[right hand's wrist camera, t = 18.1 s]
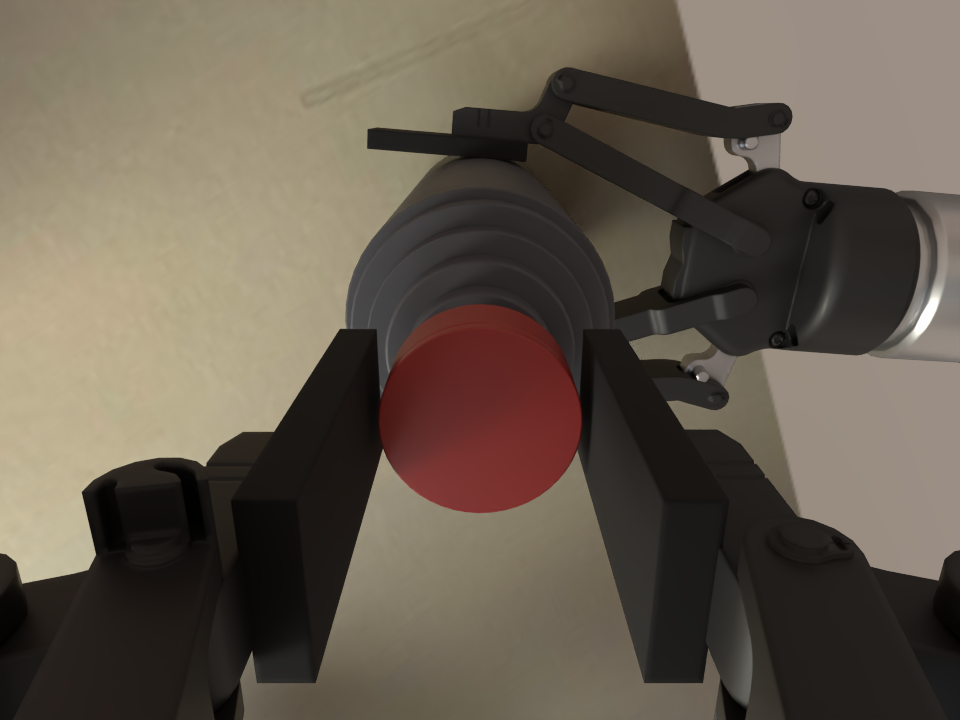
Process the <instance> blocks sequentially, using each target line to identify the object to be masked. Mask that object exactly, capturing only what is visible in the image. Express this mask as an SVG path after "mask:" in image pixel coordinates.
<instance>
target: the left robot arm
mask: <svg viewBox="0 0 960 720" xmlns="http://www.w3.org/2000/svg"><path fill="white" fill-rule="evenodd" d="M572 104H574V105H578V106H582V107H586V108H590V109H595V110H599V111H603V112H607V113H611V114H615V115H619V116H623V117H627V118H631V119H635V120H640V121H644V122H648V123H652V124H656V125H660V126H664V127H668V128H672V129H676V130H681V131H685V132H689V133H693V134H697V135H703V136H709V137H718V138H724V147H725V149H726V151H727V152H728V153H730V154H732V155H736V156H741V157H743V158H744V159H745V160H746V161H747V163H748V167H749V170H747V171H745V172H744V173H742V174H740V175H739V176H737V177H735V178H733V179H732V180H730V181H728V182H726V183H725V184H723V185H721V186H720V187H718V188H716V189H714V190H713V191H711V192H709V193H708V194H706V195H704V196H702V195H700V194H698V193H696V192H694V191H692V190H690V189H688V188H686V187H684V186H682V185H680V184H678V183H676V182H675V181H673V180H671V179H669V178H667V177H665V176H663V175H662V174H660V173H658V172H656V171H654V170H652V169H650V168H649V167H647V166H645V165H643V164H641V163H639V162H637V161H636V160H634V159H632V158H630V157H628V156H626V155H624V154H623V153H621V152H619V151H617V150H615V149H613V148H611V147H610V146H608V145H606V144H604V143H602V142H600V141H598V140H597V139H595V138H593V137H591V136H589V135H587V134H585V133H584V132H582V131H580V130H578V129H576V128H574V127H572V126H571V125H569V124H567V123H565V122H564V121H565V119H566V117H567V115H568V113H569V110H570V108H571V106H572ZM791 121H792V111H791V109H790V108H789V106H787V105H785V104H784V103H756V104H748V105H740V106H733V107H727V106H723V105H719V104H715V103H711V102H707V101H703V100H699V99H695V98H691V97H687V96H683V95H679V94H675V93H671V92H667V91H663V90H659V89H655V88H651V87H647V86H643V85H639V84H635V83H631V82H627V81H623V80H619V79H615V78H611V77H607V76H603V75H599V74H595V73H591V72H586V71H582V70H578V69H574V68H563V69H560V70H558V71H556V72H554V73H553V74H552V75H551V76H550V77H549V79H548V81H547V84H546V87H545V89H544V91H543V93H542V95H541V98H540V100H539V101H538V103H537V105H536V106H535V107H534V108H532V109H531V110H529V111H525V112H517V111H506V110H494V109H482V108H471V107H465V108H461V109H458V110H455V111H453V123H452V134H447V133H435V132H423V131H411V130H400V129H388V128H372V129H368V139H367V149H378V150H390V151H402V152H414V153H426V154H438V155H449V156H461V157H473V158H485V159H497V160H509V161H521V162H526V156H527V146H528V143H530V144H540V145H542V146H544V147H546V148H548V149H549V150H551V151H553V152H555V153H557V154H559V155H561V156H563V157H565V158H566V159H568V160H570V161H572V162H574V163H576V164H578V165H580V166H582V167H583V168H585V169H587V170H589V171H591V172H593V173H595V174H597V175H599V176H600V177H602V178H604V179H606V180H608V181H610V182H612V183H614V184H616V185H617V186H619V187H621V188H623V189H625V190H627V191H629V192H631V193H633V194H634V195H636V196H638V197H640V198H642V199H644V200H646V201H648V202H650V203H651V204H653V205H655V206H657V207H659V208H661V209H663V210H665V211H667V212H668V213H670V214H672V215H674V216H676V217H678V218H677V220H672V226H671V231H670V247H671V255H670V257H669V260H668V262H667V264H666V266H665V268H664V271H663V277H662V282H661V286H658V287H654V288H651V289H647V290H645V291H643V292H641V293H640V294H639V295H637V296H635V297H632V298H628V299H625V300H621V301H618V302H615V303H614V308H615V324H614V329H620V330H621V331H622V333H623V334H624V336H625V338H626V339H627V341H628V342H629V341H633V340H636V339H640V338H643V337H647V336H650V335H654V334H660V335H667V334H672V333H675V332H679V331H682V330H686V329H689V328H693V327H694V328H695V329H696V330H697V331H698V332H700V333H701V334H702V335H703V336H704V337H705V338H706V339H707V340H709V341H710V342H711V343H712V345H711V346H710V348H709V349H708V350H707V351H705V352H703V353H691V354H687V355H685V356H684V357H683V359H682V361H681V362H680V361H676V360H668V359H651V360H640V361H641V363H642V364H643V366H644V367H645V369H646V370H647V372H648V374H649V375H650V377H651V378H652V380H653V381H654V383H655V385H656V386H657V388H658V389H659V391H660V392H661V394H662V396H663V397H664V399H665V400H666V401H676V400H678V401H682V402H686V403H689V404H693V405H696V406H700V407H704V408H707V409H711V410H718V409H721V408H723V407H724V406H725V405H726V404H727V402H728V400H729V394H728V392H727V390H726V389H725V388H724V384H725V382H726V380H727V377H728V375H729V373H730V371H731V369H732V366H733V364H734V362H735V360H736V358H737V356H743V355H747V354H749V353H752V352H754V351H757V350H761V349H767V348H772V349H781V350H791V351H805V352H818V353H831V354H845V355H862V354H865V353H867V354H869V355H870V356H875V357H880V358H892V359H909V360H926V361H944V362H959V363H960V195H955V194H944V193H932V192H921V191H900V192H897V193H895V192H893V191H891V190H888V189H885V188H873V187H861V186H850V185H837V184H826V183H815V182H803V181H799V180H797V179H795V178H794V177H792V176H791V175H790V174H789V173H787V172H786V171H784V170H782V169H780V138H781V133H782V132H784V131H785V130H786V129H788V127H789V126H790V124H791Z"/></svg>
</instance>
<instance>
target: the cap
mask: <svg viewBox="0 0 960 720" xmlns="http://www.w3.org/2000/svg"><path fill="white" fill-rule="evenodd" d="M378 427H379V436H380V439H381V443H382V447H383V449H384V452H385V454H386V457H387V459H388V460H389V462H390V464H391V466H392V467H393V469H394V470H395V471H396V473H397V474H398V475H399V477H400V478H401V479H402V480H403V481H404V482H405V483H406V484H407V485H408V486H409V487H410V488H411V489H413V490H414V491H415V492H417V493H418V494H419V495H421V496H423V497H424V498H426V499H428V500H429V501H431V502H434V503H436V504H438V505H440V506H443V507H446V508H450V509H453V510H458V511H463V512H473V513H489V512H497V511H503V510H507V509H511V508H514V507H517V506H520V505H522V504H525V503H527V502H529V501H531V500H533V499H535V498H536V497H538V496H540V495H541V494H543V493H544V492H545V491H547V490H548V489H549V488H550V487H551V486H553V485H554V484H555V483H556V482H557V481H558V480H559V479H560V477H561V476H562V475H563V474H564V473H565V471H566V470H567V468H568V467H569V465H570V463H571V462H572V460H573V458H574V456H575V453H576V451H577V449H578V445H579V442H580V439H581V432H582V407H581V401H580V398H579V394H578V391H577V388H576V385H575V382H574V379H573V376H572V373H571V371H570V368H569V365H568V362H567V360H566V357H565V355H564V353H563V351H562V349H561V348H560V346H559V345H558V343H557V342H556V340H555V339H554V338H553V337H552V336H551V334H550V333H549V332H548V331H547V330H546V329H544V328H543V327H542V326H541V325H540V324H539V323H537V322H536V321H534V320H533V319H531V318H530V317H528V316H526V315H524V314H522V313H520V312H518V311H515V310H512V309H509V308H506V307H501V306H496V305H486V304H476V305H465V306H460V307H455V308H452V309H449V310H446V311H443V312H441V313H439V314H437V315H435V316H433V317H431V318H430V319H428V320H426V321H425V322H423V323H422V324H421V325H420V326H418V327H417V328H416V329H415V330H414V331H413V332H412V333H411V334H410V335H409V336H408V337H407V338H406V340H405V341H404V343H403V344H402V346H401V347H400V348H399V350H398V352H397V354H396V356H395V358H394V361H393V364H392V367H391V370H390V373H389V376H388V379H387V382H386V384H385V387H384V390H383V393H382V396H381V400H380V405H379V411H378Z"/></svg>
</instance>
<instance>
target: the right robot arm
mask: <svg viewBox="0 0 960 720" xmlns="http://www.w3.org/2000/svg"><path fill="white" fill-rule="evenodd" d="M380 400H381V398H380V380H379V362H378V343H377V329H340V330H339V331H338V333H337V334H336V336H335V338H334V339H333V341H332V342H331V344H330V345H329V347H328V349H327V350H326V352H325V353H324V355H323V356H322V358H321V360H320V361H319V363H318V364H317V366H316V367H315V369H314V370H313V372H312V374H311V375H310V377H309V378H308V380H307V381H306V383H305V385H304V386H303V388H302V389H301V391H300V392H299V394H298V396H297V397H296V399H295V400H294V402H293V403H292V405H291V406H290V408H289V410H288V411H287V413H286V414H285V416H284V417H283V419H282V421H281V422H280V424H279V425H278V427H277V428H276V430H275V431H274V432H242V433H241V434H239V435H237V436H236V437H234V438H232V439H231V440H229V441H228V442H226V443H224V444H223V445H221V446H219V448H218V449H217V450H216V452H215V453H214V454H213V455H212V457H211V458H210V459H209V461H208V462H207V466H206V467H204V466H202V465H201V464H200V463H198V462H197V461H193V460H188V459H184V458H156V459H150V460H144V461H139V462H134V463H131V464H128V465H125V466H122V467H119V468H116V469H113V470H111V471H109V472H108V473H106V474H104V475H102V476H100V477H99V478H97V479H95V480H93V481H92V482H91V483H90V484H89V485H88V486H87V487H86V488H85V489H84V490H83V491H82V495H83V500H84V504H85V508H86V513H87V517H88V521H89V525H90V530H91V534H92V538H93V543H94V547H95V551H96V556H95V558H94V560H93V562H92V564H91V566H90V568H89V570H87V571H83V572H79V573H75V574H70V575H65V576H60V577H55V578H50V579H44V580H39V581H34V582H29V583H24V584H22V581H21V578H20V574H19V571H18V567H17V564H16V562H15V561H14V560H12V559H11V558H10V557H9V556H7V555H6V554H0V720H243V715H244V704H243V697H242V690H241V684H240V678H241V676H242V673H243V671H244V668H245V666H246V664H247V661H248V659H249V657H250V654H251V652H252V651H253V658H254V665H255V672H256V679H257V683H316V680H317V676H318V673H319V669H320V666H321V662H322V659H323V655H324V652H325V648H326V645H327V641H328V638H329V634H330V631H331V627H332V624H333V620H334V617H335V613H336V610H337V606H338V603H339V599H340V596H341V593H342V589H343V586H344V582H345V579H346V575H347V572H348V568H349V565H350V561H351V558H352V554H353V551H354V547H355V544H356V540H357V537H358V533H359V530H360V526H361V523H362V519H363V516H364V512H365V509H366V505H367V502H368V498H369V495H370V491H371V488H372V485H373V481H374V478H375V474H376V471H377V467H378V464H379V460H380V457H381V453H382V450H383V447H382V443H381V439H380V436H379V427H378V411H379V405H380ZM580 401H581V407H582V432H581V439H580V442H579V445H578V449H577V450H578V453H579V457H580V460H581V464H582V467H583V471H584V474H585V478H586V481H587V485H588V488H589V492H590V495H591V498H592V502H593V505H594V509H595V512H596V516H597V519H598V523H599V526H600V530H601V533H602V537H603V540H604V544H605V547H606V551H607V554H608V558H609V561H610V565H611V568H612V572H613V575H614V579H615V582H616V586H617V589H618V593H619V596H620V600H621V603H622V607H623V610H624V613H625V617H626V620H627V624H628V627H629V631H630V634H631V638H632V641H633V645H634V648H635V652H636V655H637V659H638V662H639V666H640V669H641V673H642V676H643V680H644V683H703V679H704V672H705V665H706V658H707V651H708V648H709V651H710V653H711V655H712V658H713V660H714V663H715V665H716V667H717V670H718V672H719V674H720V677H721V678H720V684H719V690H718V697H717V703H716V710H715V716H714V720H960V550H959V551H954V552H953V553H952V554H951V555H949V556H948V557H947V558H946V559H945V560H944V564H943V567H942V571H941V574H940V578H939V581H937V580H932V579H927V578H921V577H916V576H911V575H906V574H900V573H896V572H890V571H886V570H882V569H878V568H873V567H870V565H869V563H868V561H867V559H866V557H865V555H864V553H863V552H862V551H861V550H860V549H859V547H858V546H857V545H856V544H855V543H854V542H853V540H851V539H850V538H848V537H846V536H845V535H843V534H842V533H840V532H839V531H837V530H836V529H834V528H831V527H829V526H826V525H824V524H821V523H819V522H816V521H814V520H809V519H804V518H800V517H797V515H796V514H795V513H794V512H793V510H792V509H791V508H790V506H789V505H788V504H787V503H786V501H785V500H784V499H783V498H782V496H781V495H780V494H779V492H778V491H777V490H776V489H775V487H774V486H773V485H772V483H771V482H770V481H769V480H768V478H765V474H764V473H763V472H762V471H761V469H760V468H759V467H758V465H757V464H754V460H753V459H752V458H751V457H750V455H749V454H748V453H747V451H746V450H745V449H744V448H743V446H742V445H741V444H740V443H738V442H737V441H735V440H733V439H732V438H730V437H728V436H727V435H725V434H723V433H722V432H720V431H718V430H684V428H683V427H682V425H681V424H680V422H679V421H678V419H677V417H676V416H675V414H674V413H673V411H672V410H671V408H670V406H669V405H668V403H667V402H666V400H665V399H664V397H663V396H662V394H661V392H660V391H659V389H658V388H657V386H656V385H655V383H654V381H653V380H652V378H651V377H650V375H649V374H648V372H647V370H646V369H645V367H644V366H643V364H642V363H641V361H640V360H639V358H638V356H637V355H636V353H635V352H634V350H633V349H632V347H631V345H630V344H629V342H628V341H627V339H626V338H625V336H624V334H623V333H622V331H621V330H620V329H583V343H582V361H581V380H580Z"/></svg>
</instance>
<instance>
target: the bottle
mask: <svg viewBox="0 0 960 720" xmlns="http://www.w3.org/2000/svg"><path fill="white" fill-rule="evenodd" d="M476 304H486V305H496V306H501V307H506V308H509V309H512V310H515V311H518V312H520V313H522V314H524V315H526V316H528V317H530V318H531V319H533V320H534V321H536V322H537V323H539V324H540V325H541V326H542V327H543V328H544V329H546V330H547V331H548V332H549V333H550V334H551V336H552V337H553V338H554V339H555V340H556V342H557V343H558V345H559V346H560V348H561V349H562V351H563V353H564V355H565V357H566V360H567V362H568V365H569V368H570V371H571V373H572V376H573V379H574V382H575V385H576V388H577V391H578V394H579V398H580V380H581V361H582V343H583V329H614V324H615V308H614V298H613V292H612V288H611V284H610V280H609V277H608V274H607V272H606V269H605V267H604V264H603V262H602V260H601V258H600V257H599V255H598V253H597V251H596V250H595V248H594V246H593V245H592V244H591V242H590V241H589V240H588V238H587V237H586V236H585V235H584V233H583V232H582V231H581V230H580V228H579V227H578V226H577V225H576V224H575V223H574V221H573V220H572V219H571V218H570V217H569V215H568V214H567V213H566V212H565V211H564V209H563V208H562V207H561V206H560V205H559V203H558V202H557V201H556V200H555V199H554V197H553V196H552V195H551V194H550V193H549V192H548V190H547V189H546V188H545V187H544V186H543V184H542V183H541V182H540V181H539V180H538V178H537V177H536V176H535V175H534V174H533V172H532V171H531V170H530V169H529V168H528V167H527V166H526V165H524V164H523V163H522V162H520V161H509V160H497V159H485V158H473V157H461V156H448V157H446V158H445V159H443V160H442V161H440V162H438V163H437V164H436V165H435V166H434V167H433V168H431V170H430V171H429V172H428V173H427V174H426V175H425V176H424V178H423V179H422V180H421V181H420V182H419V184H418V185H417V186H416V187H415V188H414V190H413V191H412V192H411V193H410V194H409V196H408V197H407V198H406V199H405V200H404V202H403V203H402V204H401V205H400V206H399V208H398V209H397V210H396V211H395V212H394V214H393V215H392V216H391V217H390V218H389V220H388V221H387V222H386V223H385V224H384V226H383V227H382V228H381V229H380V230H379V232H378V233H377V234H376V235H375V236H374V238H373V239H372V240H371V241H370V243H369V244H368V246H367V247H366V249H365V251H364V252H363V254H362V255H361V257H360V259H359V261H358V264H357V266H356V268H355V270H354V273H353V276H352V279H351V282H350V285H349V290H348V296H347V301H346V329H377V343H378V362H379V380H380V398H381V396H382V393H383V390H384V387H385V384H386V382H387V379H388V376H389V373H390V370H391V367H392V364H393V361H394V358H395V356H396V354H397V352H398V350H399V348H400V347H401V346H402V344H403V343H404V341H405V340H406V338H407V337H408V336H409V335H410V334H411V333H412V332H413V331H414V330H415V329H416V328H417V327H418V326H420V325H421V324H422V323H423V322H425V321H426V320H428V319H430V318H431V317H433V316H435V315H437V314H439V313H441V312H443V311H446V310H449V309H452V308H455V307H460V306H465V305H476Z"/></svg>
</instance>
